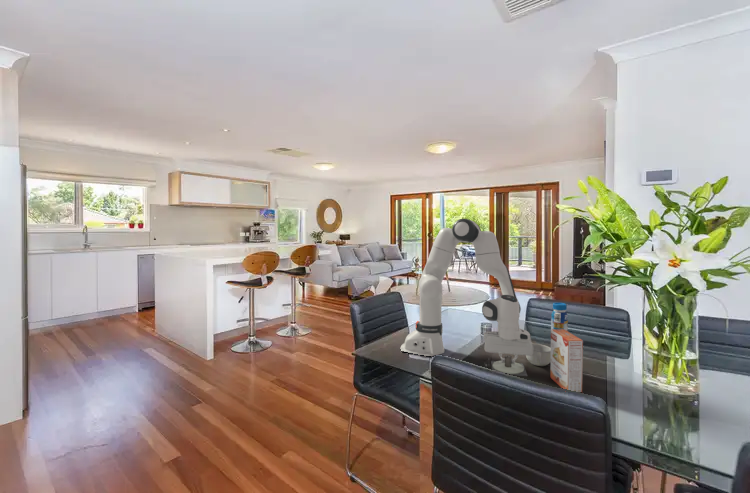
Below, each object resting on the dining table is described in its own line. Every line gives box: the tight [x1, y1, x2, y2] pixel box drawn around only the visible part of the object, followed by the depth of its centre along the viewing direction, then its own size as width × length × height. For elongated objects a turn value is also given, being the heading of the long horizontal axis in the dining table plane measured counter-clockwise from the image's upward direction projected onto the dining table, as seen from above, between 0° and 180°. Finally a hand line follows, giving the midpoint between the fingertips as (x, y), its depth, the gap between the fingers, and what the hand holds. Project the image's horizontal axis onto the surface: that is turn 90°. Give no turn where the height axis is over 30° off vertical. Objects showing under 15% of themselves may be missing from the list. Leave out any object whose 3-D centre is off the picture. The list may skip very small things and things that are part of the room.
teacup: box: [525, 342, 551, 367], centre depth 160 cm, size 14×11×8 cm
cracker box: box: [549, 329, 584, 393], centre depth 138 cm, size 14×6×21 cm, turn 178°
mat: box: [490, 360, 528, 377], centre depth 156 cm, size 14×14×1 cm
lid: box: [493, 354, 525, 375], centre depth 156 cm, size 13×13×5 cm
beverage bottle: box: [550, 302, 569, 332], centre depth 194 cm, size 8×8×20 cm
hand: (508, 363), depth 156 cm, fingers closed on lid, 3 cm apart
